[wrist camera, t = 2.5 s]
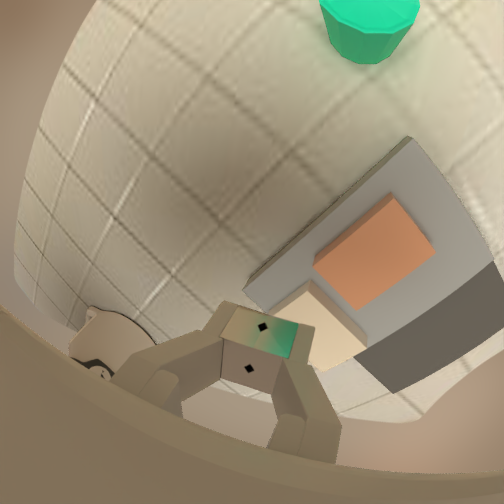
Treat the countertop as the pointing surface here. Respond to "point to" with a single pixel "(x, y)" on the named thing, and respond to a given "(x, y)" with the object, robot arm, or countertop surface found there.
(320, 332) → the cream tile
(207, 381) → the robot arm
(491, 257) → the platform
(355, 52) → the candle
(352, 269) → the terracotta tile
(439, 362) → the mat
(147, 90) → the countertop surface
